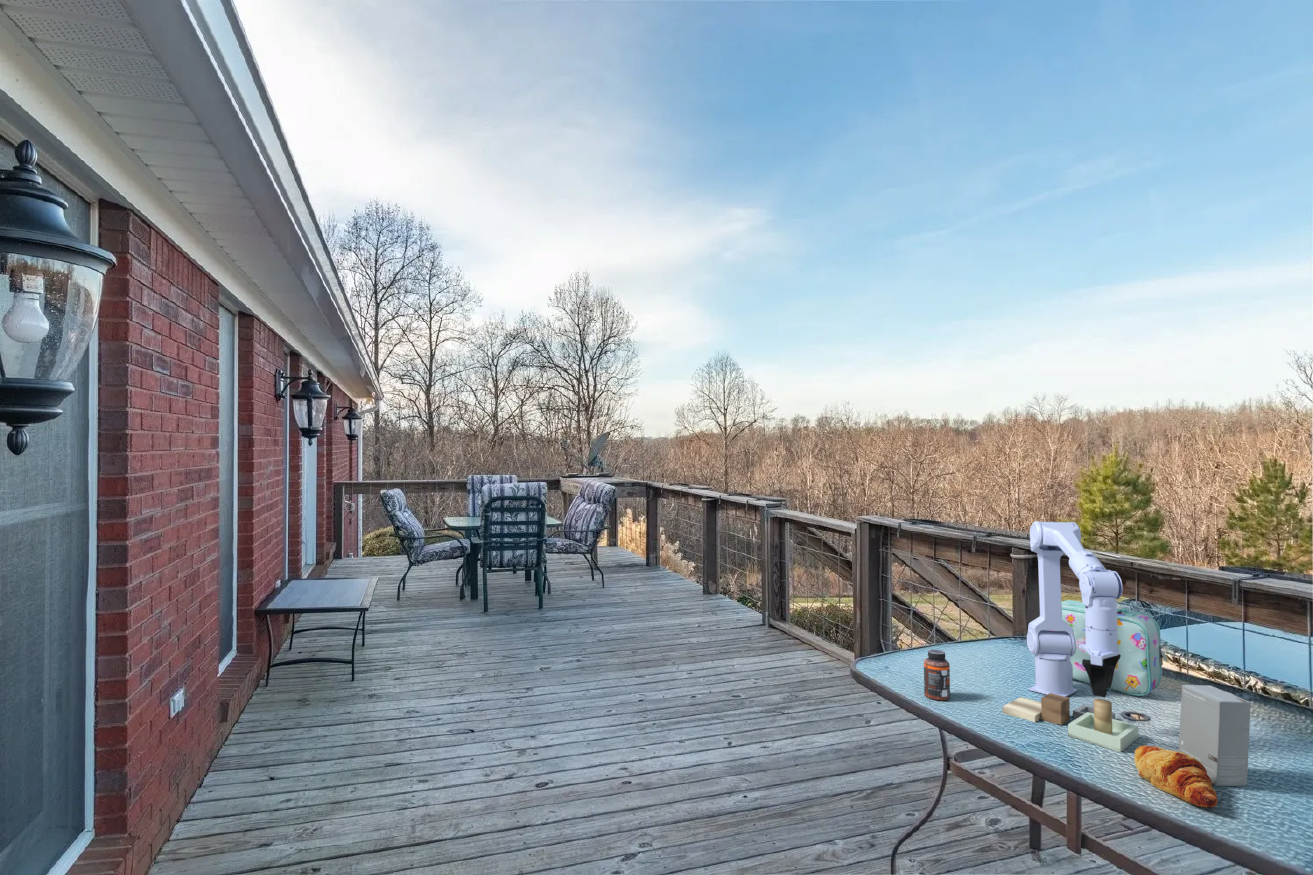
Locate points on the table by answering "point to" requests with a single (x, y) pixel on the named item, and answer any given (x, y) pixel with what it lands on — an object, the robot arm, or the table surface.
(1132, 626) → the lunch box
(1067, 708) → the brown block
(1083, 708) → the dowel socket
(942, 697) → the supplement bottle
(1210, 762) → the skincare box
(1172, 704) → the table surface
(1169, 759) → the croissant
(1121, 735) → the tray
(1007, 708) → the cream flat block
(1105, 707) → the dowel
